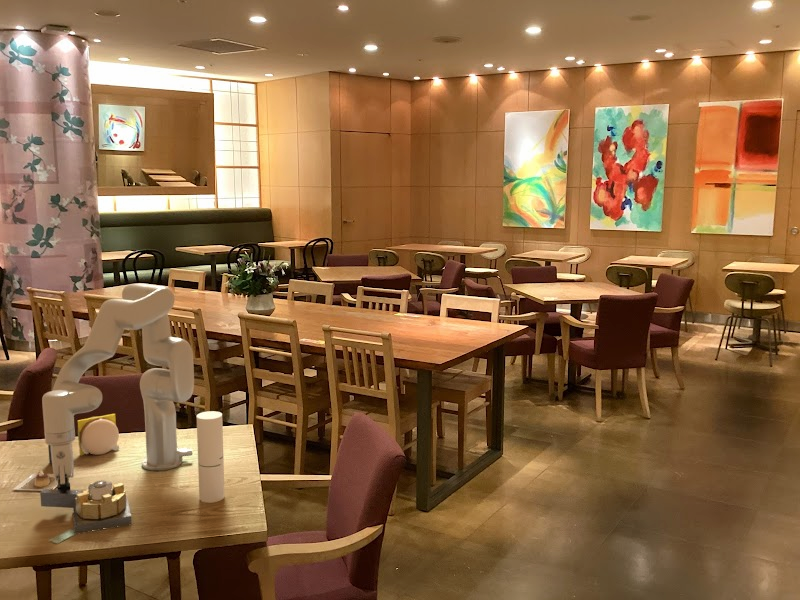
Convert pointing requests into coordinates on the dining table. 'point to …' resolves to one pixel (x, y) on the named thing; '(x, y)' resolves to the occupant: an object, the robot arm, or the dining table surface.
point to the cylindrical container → (210, 456)
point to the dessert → (36, 481)
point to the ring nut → (86, 501)
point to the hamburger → (98, 435)
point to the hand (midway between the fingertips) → (64, 498)
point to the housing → (95, 524)
